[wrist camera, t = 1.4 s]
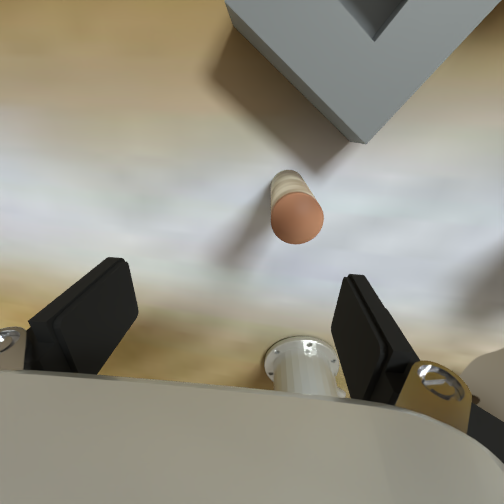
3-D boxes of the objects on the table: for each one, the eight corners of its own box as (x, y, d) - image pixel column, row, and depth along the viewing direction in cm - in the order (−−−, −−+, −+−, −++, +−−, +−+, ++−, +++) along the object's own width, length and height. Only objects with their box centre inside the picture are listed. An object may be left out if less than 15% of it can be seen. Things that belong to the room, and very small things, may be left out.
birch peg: (311, 184, 29) (334, 217, 19) (288, 209, 31) (298, 253, 20) (285, 162, 28) (295, 183, 18) (263, 189, 30) (260, 223, 19)
